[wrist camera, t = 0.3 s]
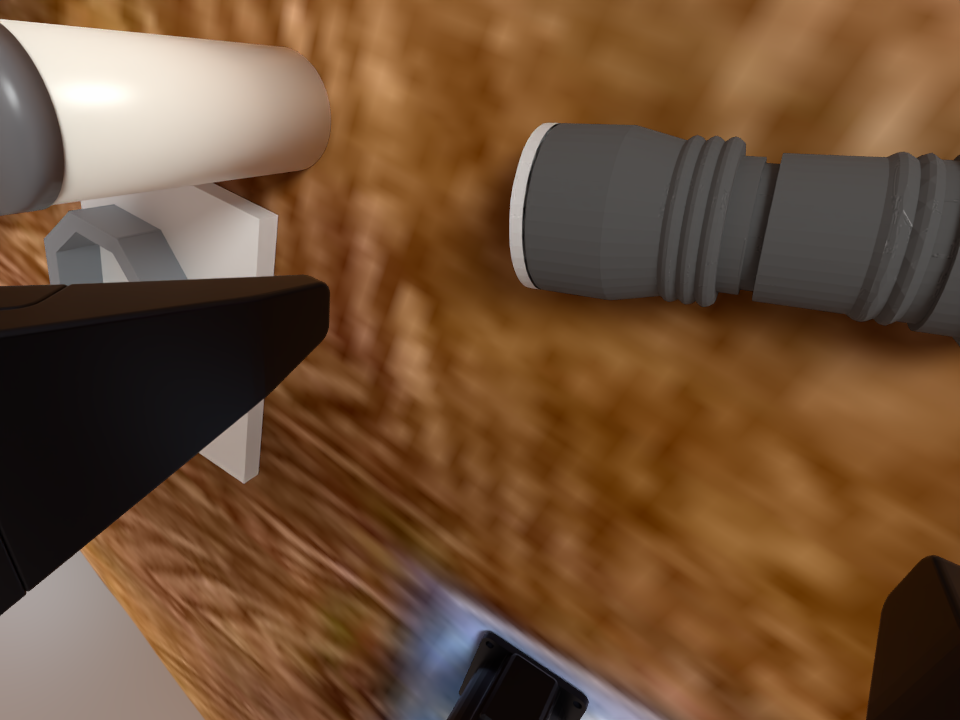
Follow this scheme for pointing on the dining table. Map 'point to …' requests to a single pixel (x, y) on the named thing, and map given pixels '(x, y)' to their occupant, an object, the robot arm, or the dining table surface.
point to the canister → (147, 113)
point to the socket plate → (208, 256)
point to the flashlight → (737, 225)
